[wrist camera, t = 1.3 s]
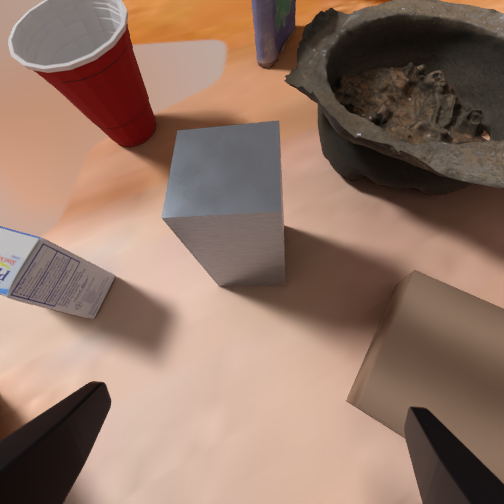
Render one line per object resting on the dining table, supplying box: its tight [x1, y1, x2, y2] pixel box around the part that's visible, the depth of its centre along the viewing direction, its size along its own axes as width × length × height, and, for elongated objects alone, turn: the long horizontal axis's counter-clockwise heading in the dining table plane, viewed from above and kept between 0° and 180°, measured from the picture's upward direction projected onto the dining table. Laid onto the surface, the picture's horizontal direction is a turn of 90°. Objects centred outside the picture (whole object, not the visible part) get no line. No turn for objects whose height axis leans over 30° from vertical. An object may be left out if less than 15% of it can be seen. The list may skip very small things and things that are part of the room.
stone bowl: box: [285, 0, 504, 195], centre depth 25 cm, size 25×25×9 cm
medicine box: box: [0, 226, 115, 319], centre depth 22 cm, size 8×4×9 cm, turn 73°
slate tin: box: [162, 121, 286, 286], centre depth 20 cm, size 6×6×12 cm
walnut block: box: [346, 270, 504, 483], centre depth 18 cm, size 10×10×4 cm
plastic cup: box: [8, 0, 156, 147], centre depth 29 cm, size 11×11×12 cm
